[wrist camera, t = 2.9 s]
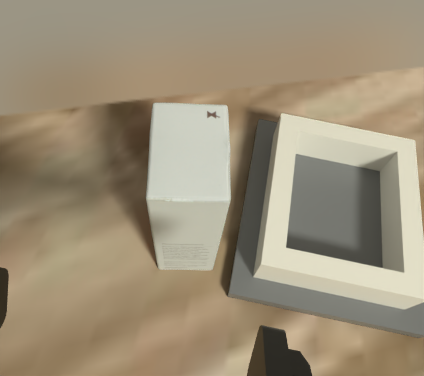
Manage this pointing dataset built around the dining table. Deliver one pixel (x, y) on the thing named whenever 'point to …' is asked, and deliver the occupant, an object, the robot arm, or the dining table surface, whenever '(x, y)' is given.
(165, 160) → the skincare box
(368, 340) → the dining table surface
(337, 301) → the socket plate
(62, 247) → the dining table surface
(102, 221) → the dining table surface
